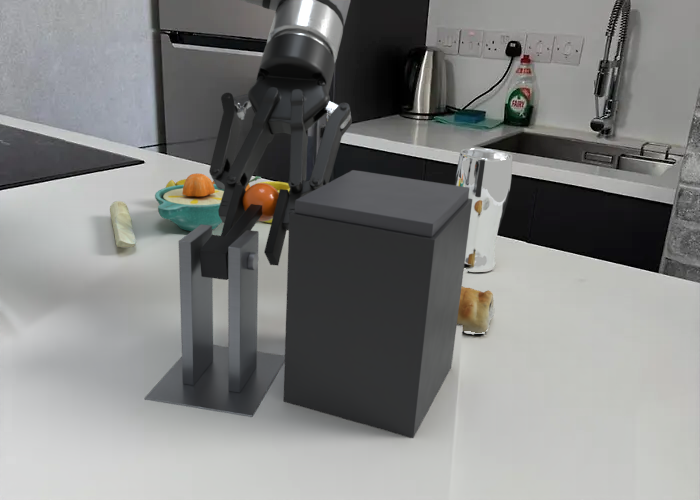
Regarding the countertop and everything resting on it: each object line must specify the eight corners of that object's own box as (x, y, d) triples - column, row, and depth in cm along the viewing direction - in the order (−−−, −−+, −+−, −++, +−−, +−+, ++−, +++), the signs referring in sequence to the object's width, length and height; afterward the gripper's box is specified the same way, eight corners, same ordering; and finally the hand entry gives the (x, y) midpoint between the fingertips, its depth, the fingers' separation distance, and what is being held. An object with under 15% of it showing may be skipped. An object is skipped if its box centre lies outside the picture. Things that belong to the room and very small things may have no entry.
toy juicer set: (234, 193, 116) (235, 148, 113) (300, 221, 104) (302, 171, 101) (64, 219, 98) (60, 166, 95) (120, 258, 85) (116, 198, 82)
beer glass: (482, 254, 94) (496, 147, 89) (508, 273, 88) (525, 159, 83) (436, 257, 92) (449, 147, 87) (460, 276, 86) (475, 160, 81)
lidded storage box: (271, 409, 56) (277, 198, 50) (330, 347, 66) (340, 167, 60) (411, 450, 52) (436, 225, 46) (450, 377, 62) (474, 187, 56)
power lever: (250, 209, 67) (249, 175, 65) (286, 213, 66) (285, 179, 64) (193, 282, 54) (189, 242, 53) (236, 288, 54) (234, 247, 52)
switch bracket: (194, 352, 64) (191, 212, 59) (287, 366, 62) (291, 223, 58) (144, 410, 55) (136, 249, 50) (252, 429, 53) (254, 264, 48)
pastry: (399, 323, 72) (402, 290, 71) (412, 300, 78) (415, 269, 77) (488, 339, 70) (493, 305, 69) (494, 314, 76) (499, 282, 75)
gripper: (381, 85, 73) (342, 283, 64) (233, 73, 76) (175, 262, 66) (377, 35, 67) (333, 248, 57) (215, 24, 69) (147, 226, 60)
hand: (248, 255), depth 62 cm, fingers closed on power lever, 4 cm apart
